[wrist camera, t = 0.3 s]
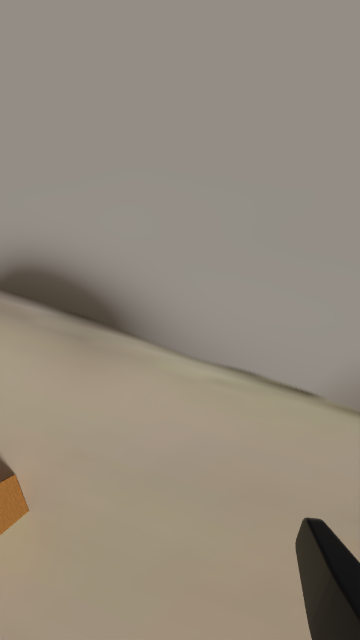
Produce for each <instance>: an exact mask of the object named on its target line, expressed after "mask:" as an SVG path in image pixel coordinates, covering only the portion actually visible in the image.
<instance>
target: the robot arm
mask: <svg viewBox="0 0 360 640" xmlns="http://www.w3.org/2000/svg"><path fill="white" fill-rule="evenodd" d="M296 555H297V561H298V567H299V572H300V578H301V584H302V590H303V596H304V602H305V608H306V614H307V619H308V624H309V629H310V633H311V638H312V640H360V562H359V561H358V560H357V559H356V558H355V557H354V556H353V554H352V553H351V552H350V551H349V550H348V549H347V547H346V546H345V545H344V544H343V543H342V542H341V541H340V539H339V538H338V537H337V536H336V535H335V534H334V533H333V531H332V530H331V529H330V528H329V527H328V526H327V525H326V523H325V522H324V521H322V520H321V519H317V518H304V519H303V521H302V524H301V527H300V530H299V533H298V535H297V538H296Z"/></svg>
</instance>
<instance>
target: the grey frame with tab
mask: <svg viewBox="0 0 360 640" xmlns="http://www.w3.org/2000/svg"><path fill="white" fill-rule="evenodd" d="M28 511H29V510H28V507H27V504H26V502H25V499H24V496H23V494H22V491H21V489H20V486H19V483H18V481H17V478H16V475H13V476H11V477H9V478H7V479H5V480H3V481H1V482H0V535H1V534H2V533H3V532H4V531H6V530H7V529H8V528H9V527H10V526H12V525H13V524H14V523H15V522H16V521H17V520H19V519H20V518H21V517H22V516H23V515H25V514H26V513H27V512H28Z"/></svg>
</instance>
